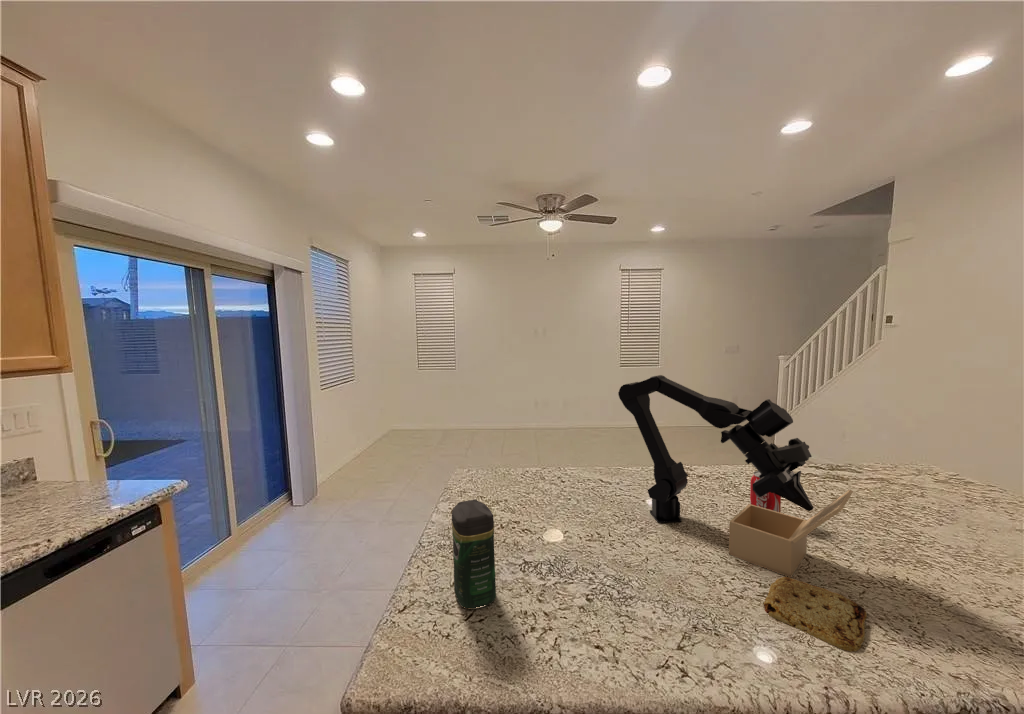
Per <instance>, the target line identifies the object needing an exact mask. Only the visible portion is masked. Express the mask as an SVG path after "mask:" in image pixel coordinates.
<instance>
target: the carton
mask: <svg viewBox="0 0 1024 714" xmlns="http://www.w3.org/2000/svg"><path fill="white" fill-rule="evenodd" d="M807 520H808V519H804V518H802V517H797V516H793V515H789V514H786V513H783V512H781V511H780V512H776V511H773V510H769V509H766V508H762V507H759V506H755V505H751V504H750V503H749V504H747V505H746V506H745V507H744V508H743V509H741V510H740V511H739V512H738V513H737V514H736V515H735V516H734V517H732V518H731V519H730V520H729V523H728V524H729V525H728V526H729V527H728V533H729V534H728V535H729V538H728V539H729V540H728V554H729V555H730V556H733V557H735V558H738V559H740V560H742V561H745V562H748V563H751V564H754V565H756V566H758V565H759V566H758V567H761V568H763V567H764V568H763V569H766V568H767V570H768V571H771V570H772V572H774V571H775V572H774V573H776V572H777V574H779V573H780V574H779V575H782V574H783V575H782V576H784V575H785V576H784V577H787V576H788V577H789V578H792V577H793V575H794V573H796V570H798V567H799V566H800V565H801V563H802V562H803V559H805V557H806V555H807V550H808V549H807V548H808V547H807V546H808V534H807V535H806V536H804V537H803V538H801V539H800V540H798V541H797V542H795V543H794V542H793V541H792V540H793V538H794V537H795V536H796V534H797V533H798V532H799V530H800V529H801V528H802V526H803V525H804V524H805V522H806V521H807Z"/></svg>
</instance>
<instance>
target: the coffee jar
mask: <svg viewBox="0 0 1024 714" xmlns="http://www.w3.org/2000/svg"><path fill="white" fill-rule="evenodd" d="M451 530H452V549H453V550H452V552H453V553H452V554H453V555H452V557H453V587H454V589H453V590H454V593H455V597H456V599H457V601H458V603H459V605H460V606H461V607H462V606H463V607H465V608H476V607H480V606H484V605H487V606H488V604H489V605H490V603H491V604H492V603H493V602H494V601H495V600H496V597H497V586H496V585H497V582H496V567H495V566H496V563H495V562H496V561H495V559H496V558H495V521H494V514H493V512H492V510H491V509H490V508H489V507H488V506H487V505H486V504H485V503H483V502H482V501H480V500H478V499H469V500H464V501H459V502H457V504H456V505H455V506H454V507H453V508H452V510H451ZM463 607H462V608H463ZM465 608H464V609H465Z"/></svg>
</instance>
